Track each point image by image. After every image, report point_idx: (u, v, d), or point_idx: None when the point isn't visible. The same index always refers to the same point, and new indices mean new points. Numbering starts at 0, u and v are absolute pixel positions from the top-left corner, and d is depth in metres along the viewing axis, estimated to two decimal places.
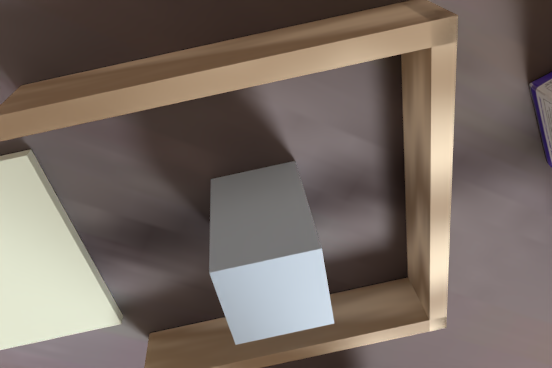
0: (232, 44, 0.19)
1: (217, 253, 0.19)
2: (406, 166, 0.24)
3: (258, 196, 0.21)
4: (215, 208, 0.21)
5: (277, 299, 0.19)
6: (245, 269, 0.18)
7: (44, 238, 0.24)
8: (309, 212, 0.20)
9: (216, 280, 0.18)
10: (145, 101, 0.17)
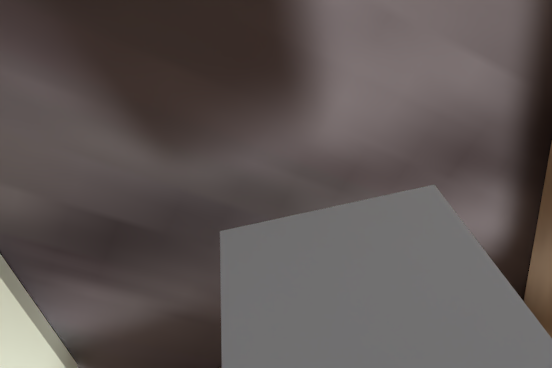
0: None
1: None
2: None
3: (366, 300, 0.07)
4: (237, 337, 0.07)
5: None
6: None
7: None
8: None
9: None
10: None
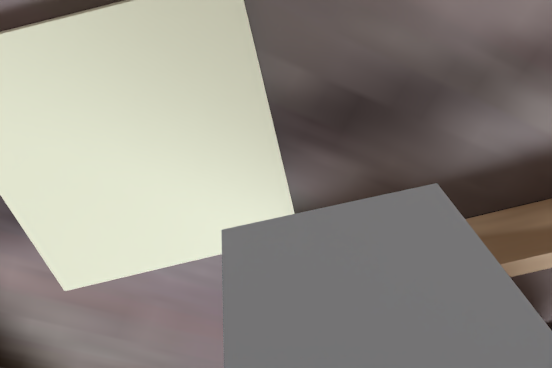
0: None
1: None
2: None
3: (369, 298, 0.07)
4: (239, 336, 0.07)
5: None
6: None
7: (234, 107, 0.18)
8: None
9: None
10: None
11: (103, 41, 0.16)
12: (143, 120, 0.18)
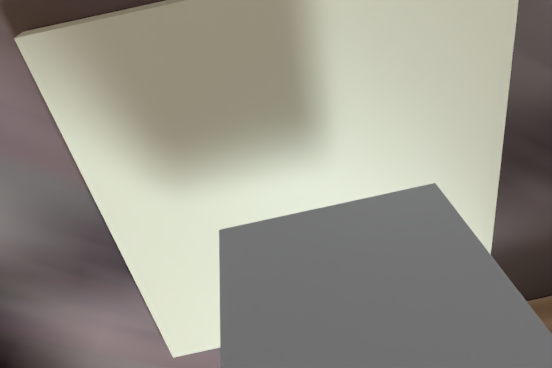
0: None
1: None
2: None
3: (367, 299, 0.07)
4: (236, 337, 0.07)
5: None
6: None
7: (459, 123, 0.13)
8: None
9: None
10: None
11: (307, 22, 0.11)
12: (332, 139, 0.13)
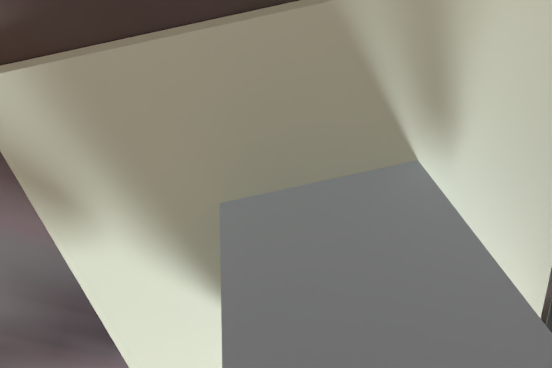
0: None
1: None
2: None
3: (352, 258, 0.08)
4: (235, 291, 0.08)
5: None
6: None
7: (515, 176, 0.11)
8: (540, 325, 0.06)
9: None
10: None
11: (335, 60, 0.09)
12: None
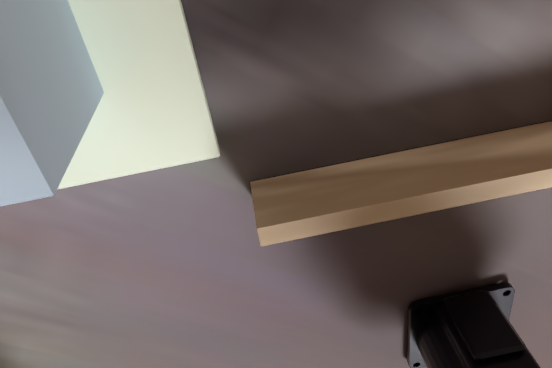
0: None
1: None
2: None
3: None
4: None
5: None
6: None
7: None
8: None
9: None
10: None
11: None
12: None
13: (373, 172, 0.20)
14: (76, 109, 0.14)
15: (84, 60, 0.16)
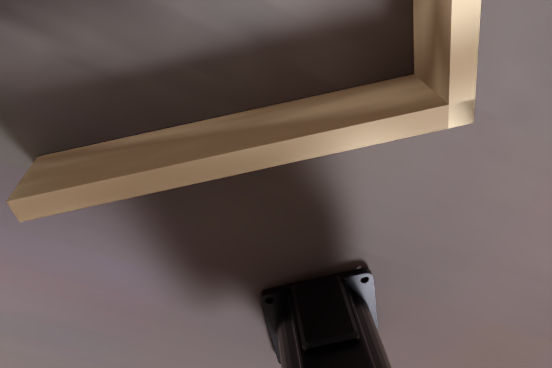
0: None
1: None
2: None
3: None
4: None
5: None
6: None
7: None
8: None
9: None
10: None
11: None
12: None
13: (157, 142, 0.19)
14: None
15: None
